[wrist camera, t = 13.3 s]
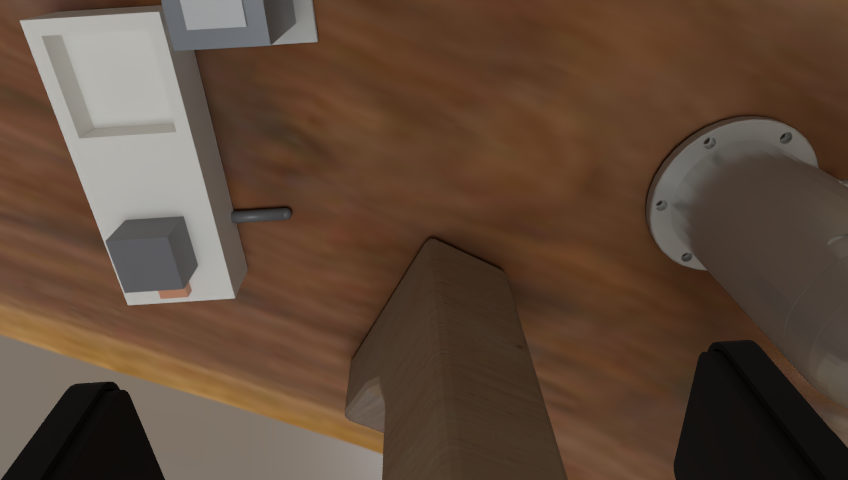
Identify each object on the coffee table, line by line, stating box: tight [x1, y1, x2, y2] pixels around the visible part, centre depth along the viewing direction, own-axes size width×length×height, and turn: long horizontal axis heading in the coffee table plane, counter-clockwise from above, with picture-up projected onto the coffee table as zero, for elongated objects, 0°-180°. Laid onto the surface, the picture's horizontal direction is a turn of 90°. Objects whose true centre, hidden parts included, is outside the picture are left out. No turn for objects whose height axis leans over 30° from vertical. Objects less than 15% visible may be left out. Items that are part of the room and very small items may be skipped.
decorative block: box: [345, 239, 568, 480], centre depth 35 cm, size 8×15×30 cm, turn 151°
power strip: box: [20, 5, 292, 305], centre depth 37 cm, size 12×20×7 cm, turn 3°
